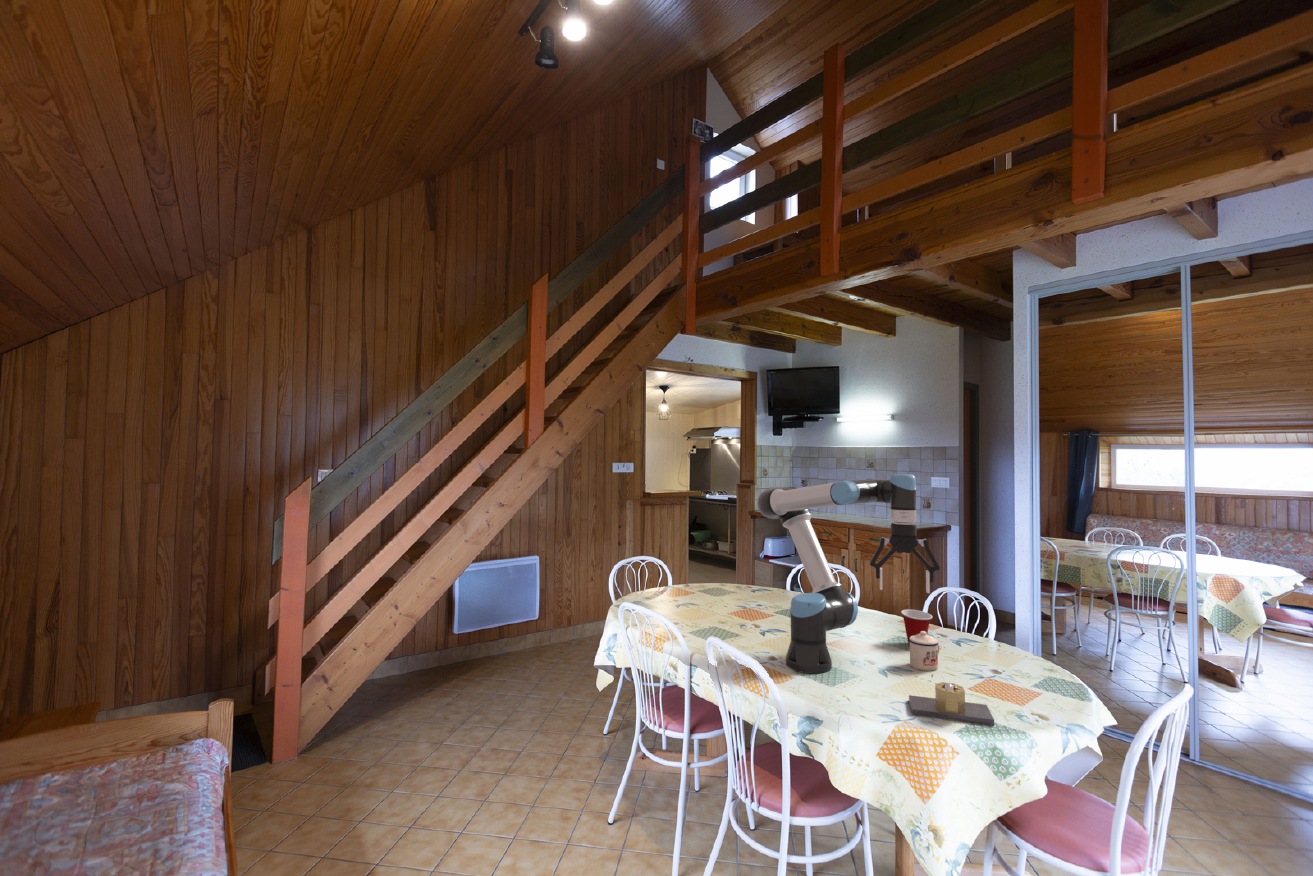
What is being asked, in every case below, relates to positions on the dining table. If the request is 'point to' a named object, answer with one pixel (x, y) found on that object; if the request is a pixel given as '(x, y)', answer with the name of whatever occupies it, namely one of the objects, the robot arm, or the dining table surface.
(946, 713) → the shaft stand
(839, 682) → the dining table surface
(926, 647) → the teacup with lid
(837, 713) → the dining table surface
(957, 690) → the ring
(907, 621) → the plastic cup
